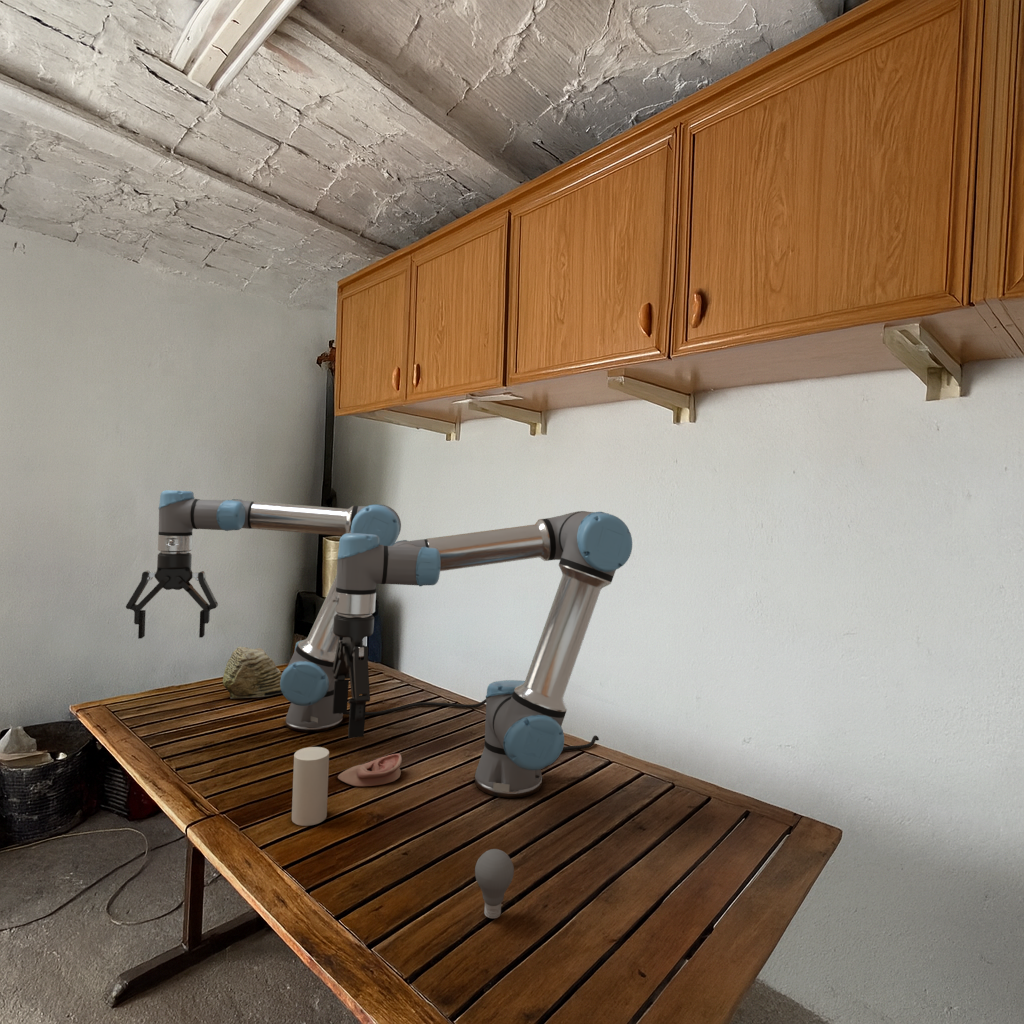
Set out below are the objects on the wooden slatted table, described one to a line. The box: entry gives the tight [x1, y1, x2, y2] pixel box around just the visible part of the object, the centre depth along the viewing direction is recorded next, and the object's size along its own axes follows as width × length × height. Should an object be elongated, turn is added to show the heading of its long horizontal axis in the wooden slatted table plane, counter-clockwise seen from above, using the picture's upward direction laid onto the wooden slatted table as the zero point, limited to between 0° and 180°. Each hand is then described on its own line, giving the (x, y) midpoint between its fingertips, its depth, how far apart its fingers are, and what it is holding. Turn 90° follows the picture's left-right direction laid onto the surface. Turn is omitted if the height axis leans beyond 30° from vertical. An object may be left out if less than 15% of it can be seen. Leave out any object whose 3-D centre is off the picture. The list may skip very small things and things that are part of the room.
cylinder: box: [291, 746, 330, 827], centre depth 125 cm, size 7×7×13 cm
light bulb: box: [474, 848, 515, 919], centre depth 98 cm, size 6×6×10 cm
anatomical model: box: [337, 753, 403, 787], centre depth 144 cm, size 13×4×12 cm
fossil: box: [222, 646, 283, 699], centre depth 198 cm, size 9×18×15 cm, turn 132°
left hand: (172, 637), depth 158 cm, fingers open, 13 cm apart
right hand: (347, 724), depth 122 cm, fingers open, 13 cm apart
